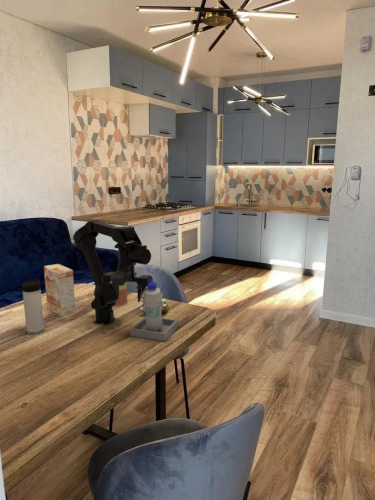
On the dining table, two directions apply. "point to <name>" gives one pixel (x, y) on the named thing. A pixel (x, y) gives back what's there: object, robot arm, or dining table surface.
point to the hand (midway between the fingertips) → (128, 300)
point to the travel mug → (33, 306)
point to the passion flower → (163, 304)
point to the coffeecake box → (60, 289)
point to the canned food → (122, 296)
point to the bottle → (153, 307)
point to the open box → (162, 335)
